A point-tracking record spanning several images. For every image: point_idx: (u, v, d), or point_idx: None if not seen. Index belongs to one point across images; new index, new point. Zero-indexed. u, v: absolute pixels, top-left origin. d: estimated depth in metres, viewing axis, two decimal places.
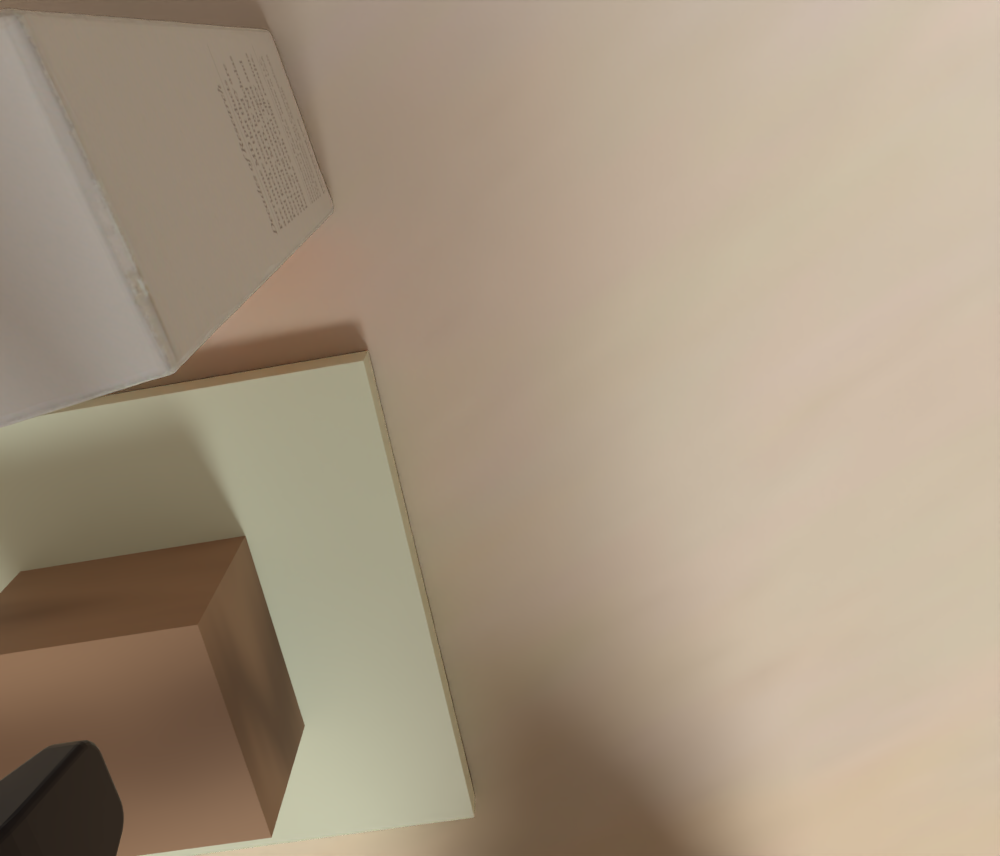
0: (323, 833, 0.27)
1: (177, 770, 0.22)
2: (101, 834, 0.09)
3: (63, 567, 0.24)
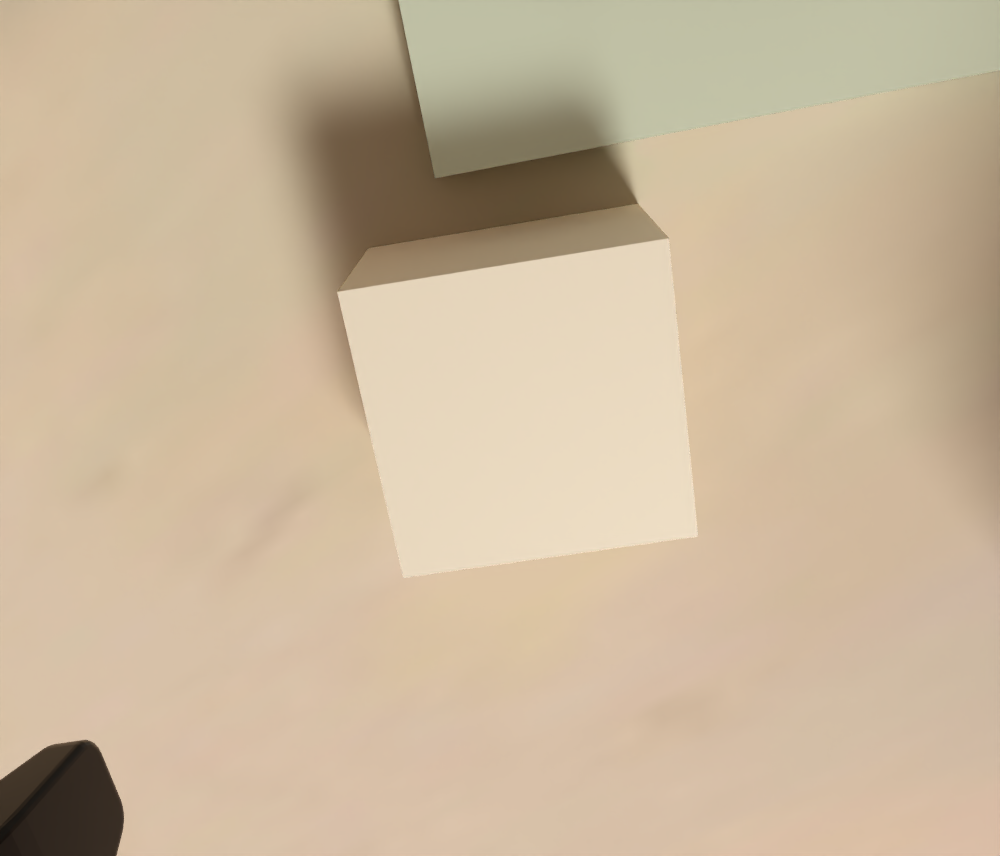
0: (949, 70, 0.17)
1: None
2: (101, 834, 0.09)
3: None
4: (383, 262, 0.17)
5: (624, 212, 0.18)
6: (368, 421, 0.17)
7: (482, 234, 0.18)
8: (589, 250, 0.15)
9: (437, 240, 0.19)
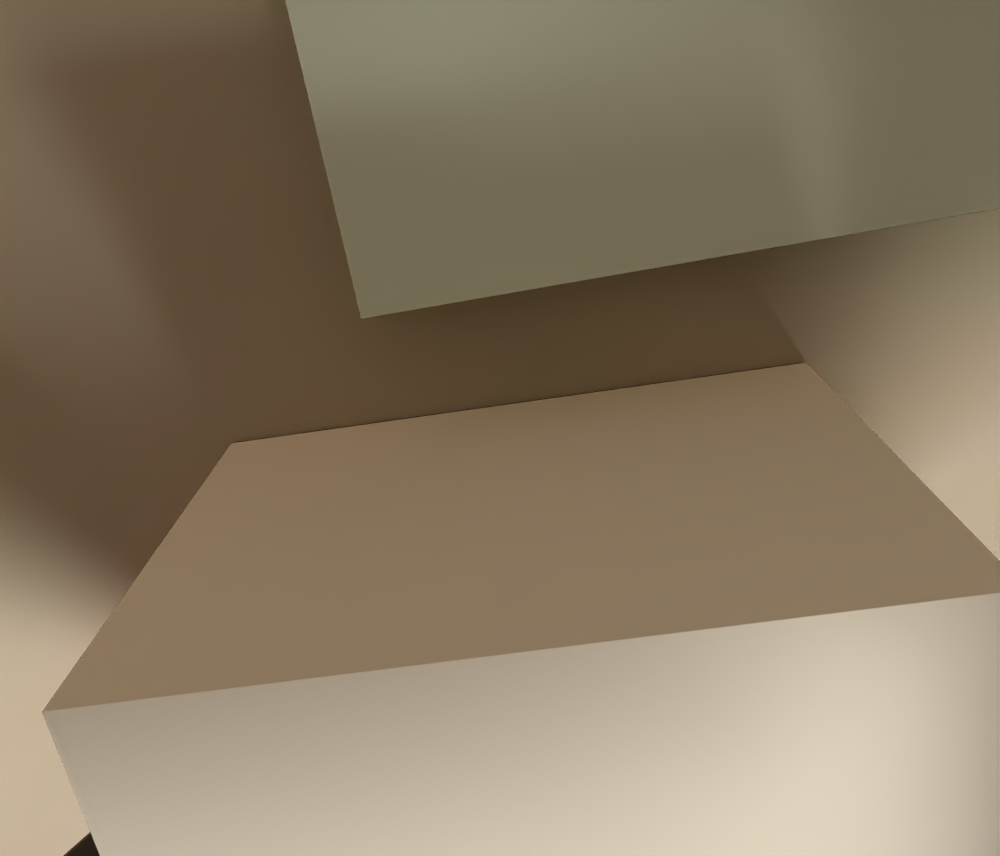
0: None
1: None
2: None
3: None
4: (227, 537, 0.07)
5: (794, 401, 0.08)
6: None
7: (470, 440, 0.08)
8: (782, 613, 0.05)
9: (371, 447, 0.08)
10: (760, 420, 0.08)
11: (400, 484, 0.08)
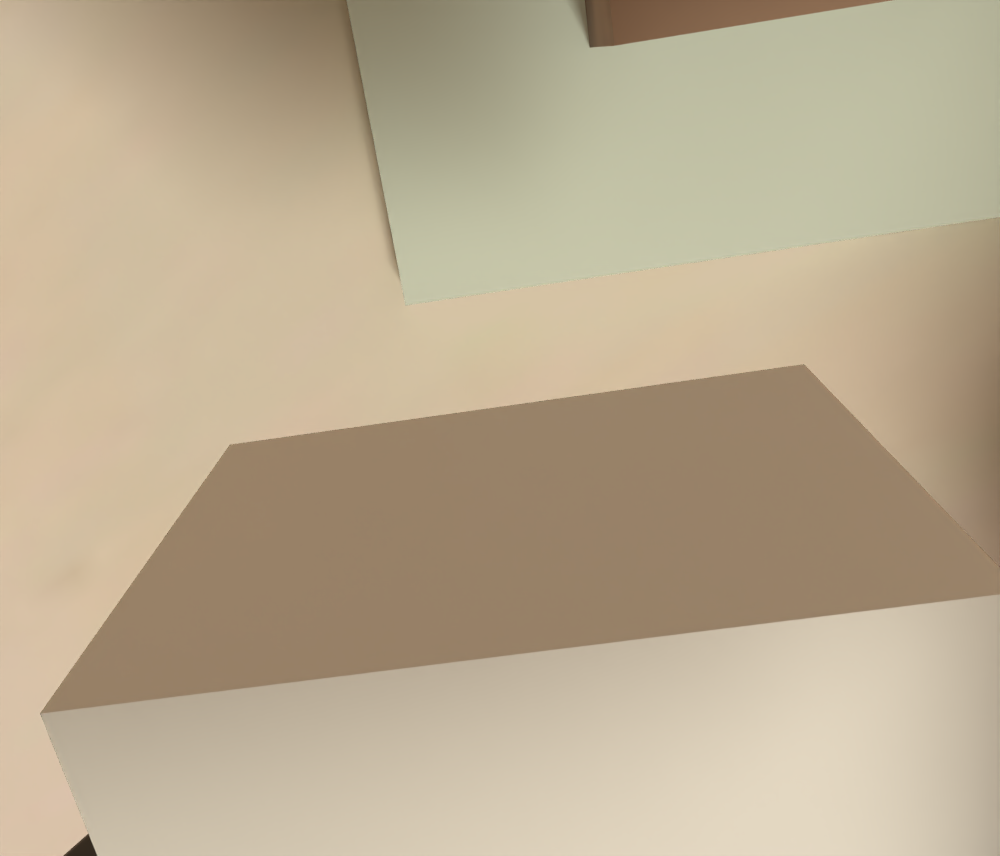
0: (914, 220, 0.17)
1: None
2: None
3: None
4: (225, 538, 0.07)
5: (792, 402, 0.08)
6: None
7: (468, 441, 0.08)
8: (777, 616, 0.05)
9: (369, 448, 0.08)
10: (758, 422, 0.08)
11: (398, 486, 0.08)
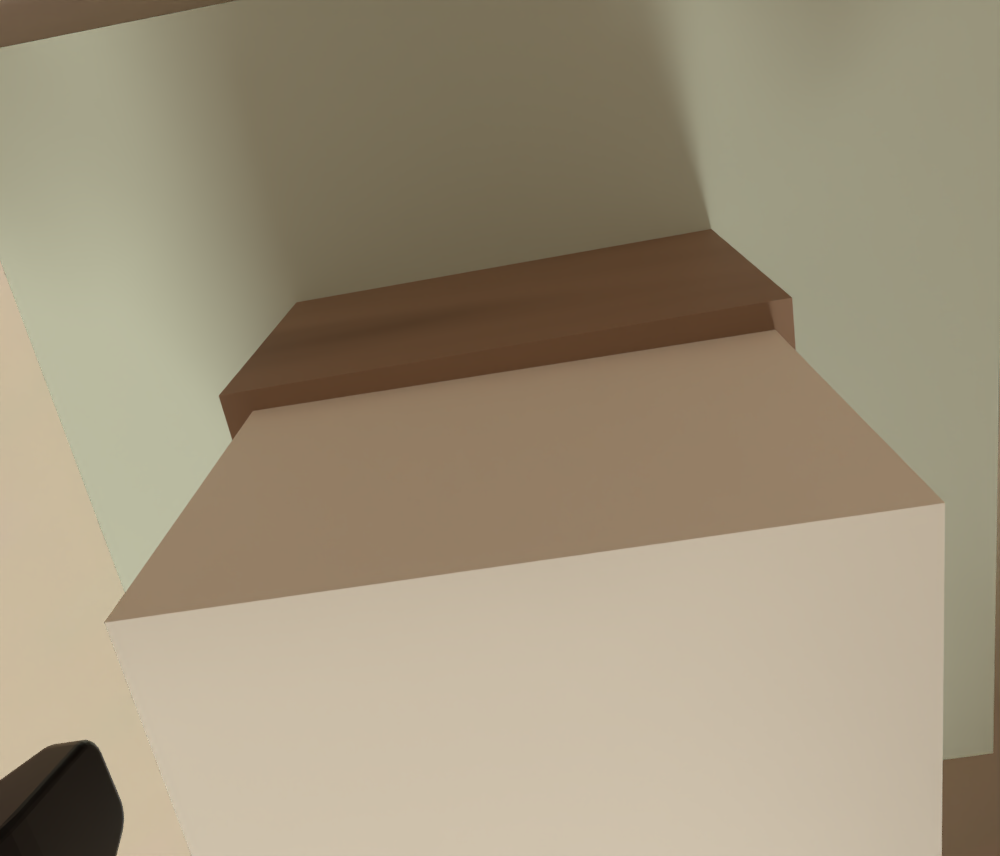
0: None
1: None
2: (101, 834, 0.09)
3: (378, 290, 0.13)
4: (254, 486, 0.08)
5: (762, 362, 0.09)
6: None
7: (470, 401, 0.09)
8: (736, 529, 0.06)
9: (380, 410, 0.09)
10: (730, 378, 0.09)
11: (407, 439, 0.08)
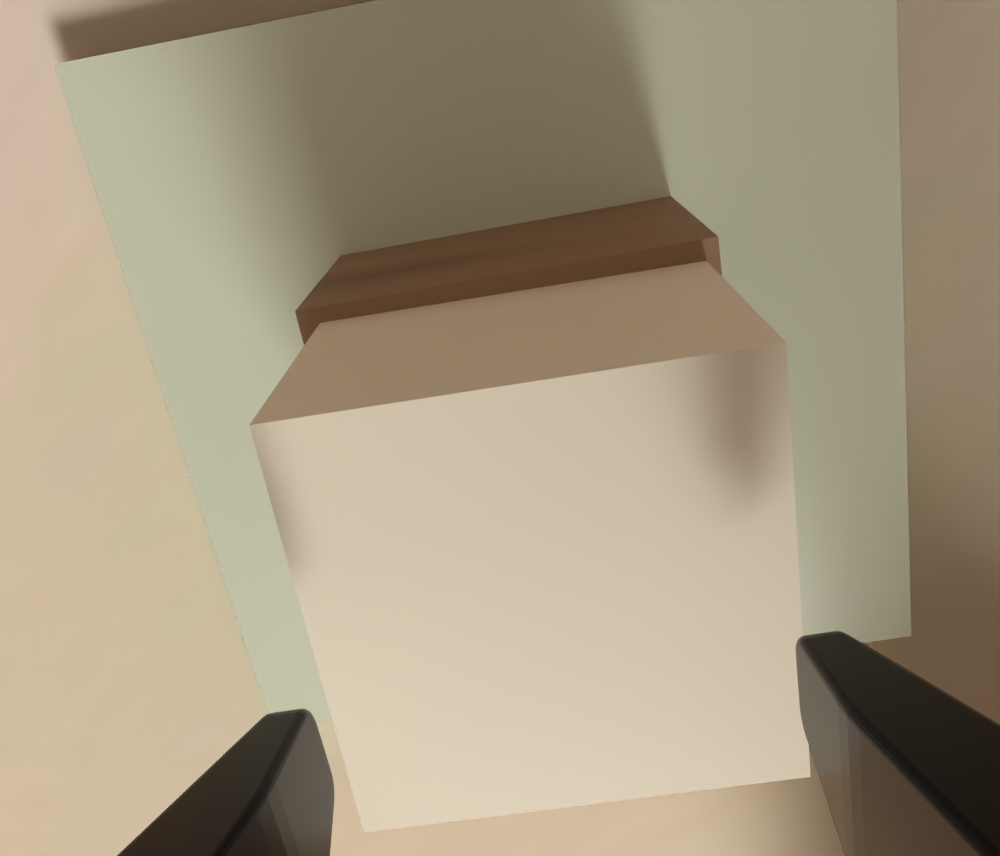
0: None
1: None
2: (322, 804, 0.09)
3: (407, 244, 0.17)
4: (332, 360, 0.12)
5: (692, 279, 0.12)
6: (305, 616, 0.11)
7: (482, 310, 0.13)
8: (654, 360, 0.10)
9: (416, 317, 0.13)
10: (668, 289, 0.12)
11: (438, 331, 0.12)
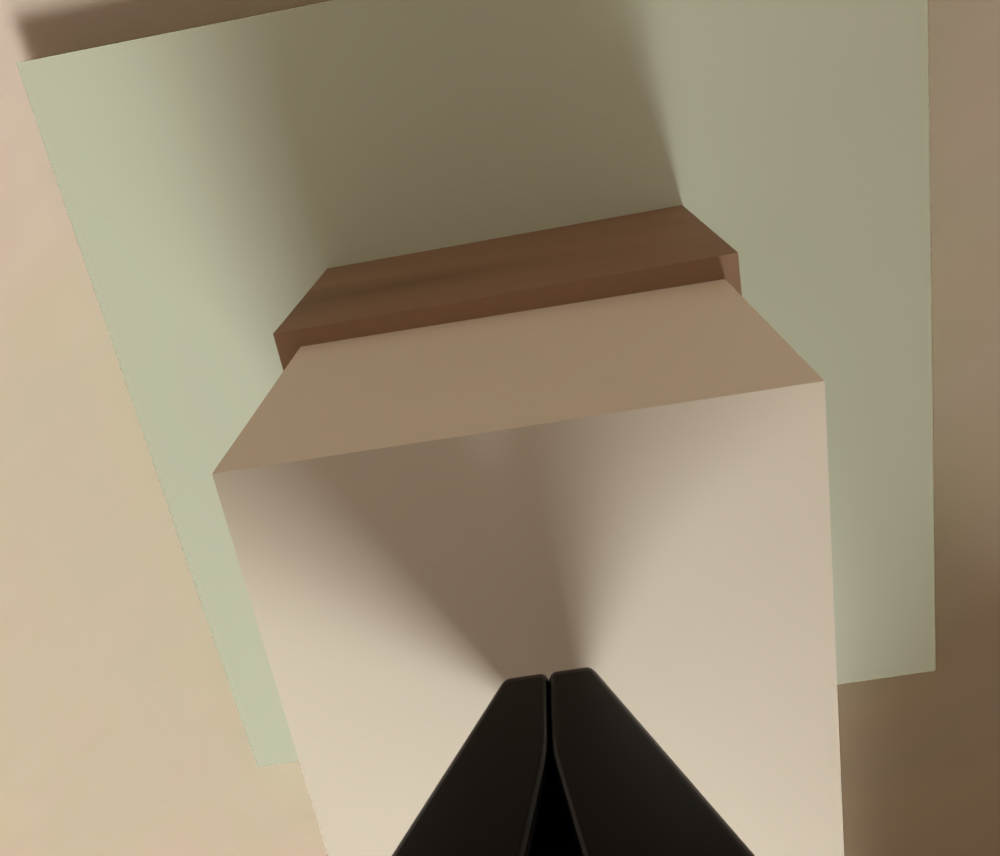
0: None
1: None
2: None
3: (398, 257, 0.16)
4: (311, 392, 0.10)
5: (710, 300, 0.11)
6: (278, 683, 0.09)
7: (478, 334, 0.11)
8: (674, 401, 0.08)
9: (406, 342, 0.12)
10: (684, 312, 0.11)
11: (429, 359, 0.11)
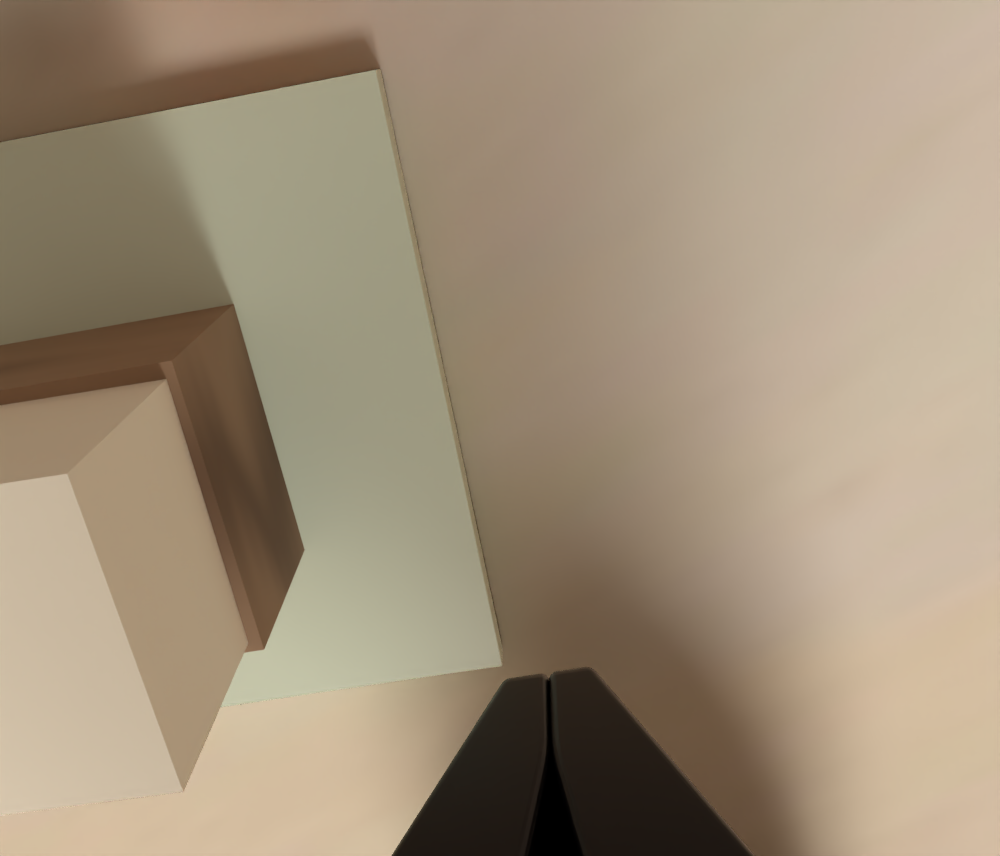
0: (325, 685, 0.24)
1: None
2: None
3: (16, 343, 0.20)
4: None
5: (127, 399, 0.16)
6: None
7: None
8: None
9: None
10: (98, 409, 0.15)
11: None
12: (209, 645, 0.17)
